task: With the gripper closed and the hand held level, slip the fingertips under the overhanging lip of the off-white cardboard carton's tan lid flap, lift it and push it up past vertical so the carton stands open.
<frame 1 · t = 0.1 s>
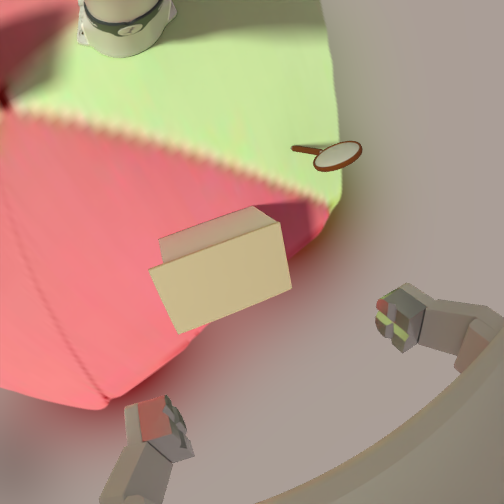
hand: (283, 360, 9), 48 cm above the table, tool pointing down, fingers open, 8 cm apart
lid flap: (226, 280, 49), point 12 cm above the table, hinge at 0.0°
magnifying glass: (291, 147, 58), on the table
carton: (214, 250, 60), on the table
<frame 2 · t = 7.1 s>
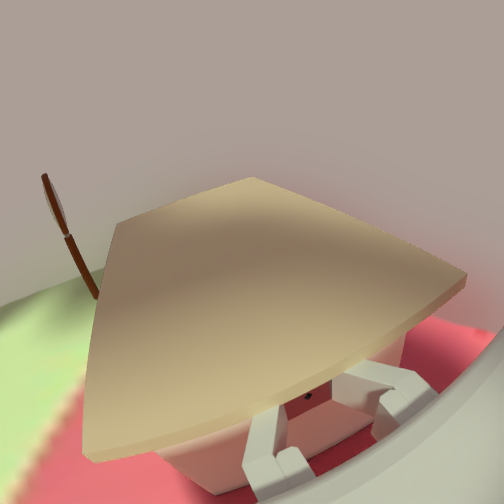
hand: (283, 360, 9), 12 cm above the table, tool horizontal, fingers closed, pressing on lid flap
lid flap: (212, 240, 17), point 13 cm above the table, hinge at 1.4°, touching gripper
magnifying glass: (101, 303, 38), on the table
carton: (251, 366, 24), on the table
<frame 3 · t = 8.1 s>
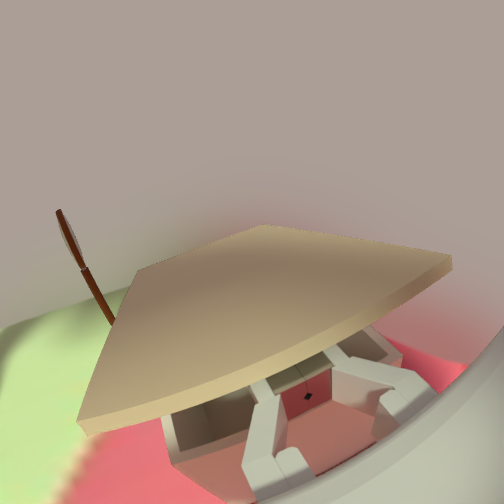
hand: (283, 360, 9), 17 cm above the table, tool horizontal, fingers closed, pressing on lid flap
lid flap: (222, 272, 18), point 15 cm above the table, hinge at 15.9°, touching gripper
magnifying glass: (117, 329, 41), on the table
carton: (264, 397, 26), on the table
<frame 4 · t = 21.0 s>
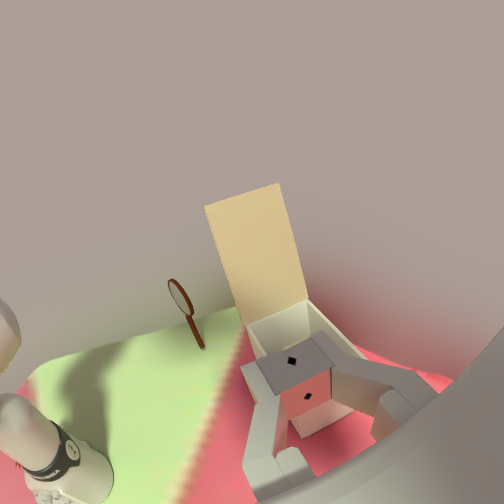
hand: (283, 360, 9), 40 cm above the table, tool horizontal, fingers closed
lid flap: (260, 256, 52), point 23 cm above the table, hinge at 103.3°
magnifying glass: (203, 350, 66), on the table
carton: (308, 385, 51), on the table
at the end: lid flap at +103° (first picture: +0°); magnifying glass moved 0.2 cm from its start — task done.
